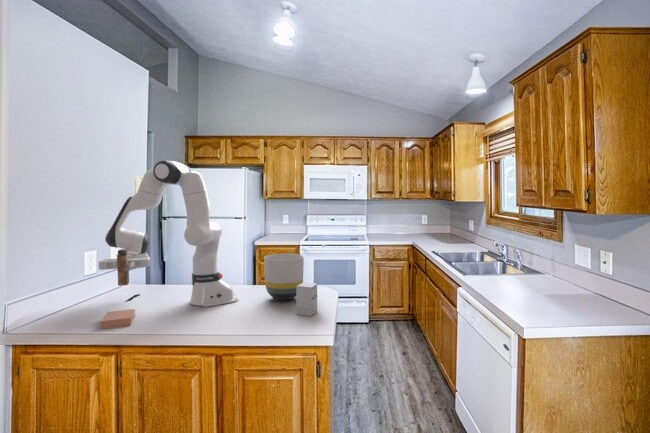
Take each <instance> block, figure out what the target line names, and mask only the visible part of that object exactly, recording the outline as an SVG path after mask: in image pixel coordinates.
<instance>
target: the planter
mask: <svg viewBox="0 0 650 433" xmlns="http://www.w3.org/2000/svg"><path fill="white" fill-rule="evenodd" d="M263 258H264V260H263V261H264V262H263V266H264V267H263V268H264V271H263V272H264V284H265V289H266V292H267V293H268V294H269V296H271V298H273V299H275V300H277V301H283V302H284V301H290V300H293V299H295V298H296V286H298V285H299V284H301V283H304V272H305V271H304V270H305V269H304V267H305V266H304V264H305V262H304V255H301V254H298V253H275V254H268V255H265V256H264V257H263Z"/></svg>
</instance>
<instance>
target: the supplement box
mask: <svg viewBox="0 0 650 433" xmlns="http://www.w3.org/2000/svg"><path fill="white" fill-rule="evenodd" d="M295 301H296V302H295V304H296V306H295V307H296V308H295V315H298V314H302V315H301V316H306V315H310V316H309V317H312V316H313V315H314V314H315V313H317V311H318V283H316V282H315V283H314V282H313V283H312V282H303V283H301V284H299V285H298V286H296V297H295ZM312 314H313V315H312Z"/></svg>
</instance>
